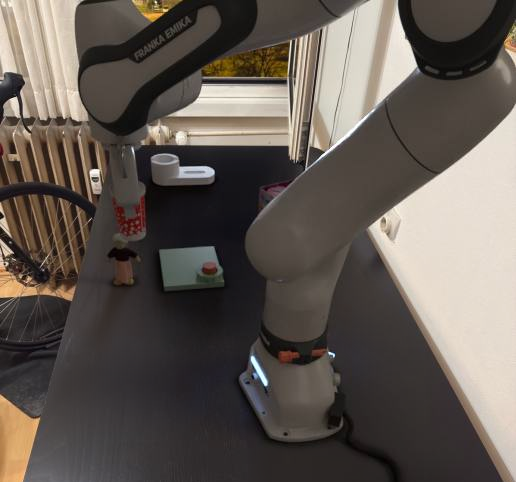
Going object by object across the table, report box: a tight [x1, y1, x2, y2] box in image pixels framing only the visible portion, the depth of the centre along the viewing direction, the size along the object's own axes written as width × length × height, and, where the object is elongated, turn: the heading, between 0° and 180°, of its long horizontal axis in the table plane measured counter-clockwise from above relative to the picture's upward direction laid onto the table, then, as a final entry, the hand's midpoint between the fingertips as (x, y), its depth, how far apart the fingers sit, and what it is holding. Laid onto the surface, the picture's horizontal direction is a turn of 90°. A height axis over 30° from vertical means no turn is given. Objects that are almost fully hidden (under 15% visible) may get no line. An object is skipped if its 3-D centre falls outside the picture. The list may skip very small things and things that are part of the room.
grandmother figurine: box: [105, 232, 142, 286], centre depth 108 cm, size 8×4×13 cm, turn 105°
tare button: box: [203, 261, 216, 275], centre depth 113 cm, size 3×3×2 cm
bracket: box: [150, 153, 216, 187], centre depth 153 cm, size 20×9×7 cm, turn 102°
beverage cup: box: [108, 180, 147, 242], centre depth 82 cm, size 6×6×14 cm
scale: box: [158, 245, 225, 292], centre depth 117 cm, size 16×14×3 cm
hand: (129, 206), depth 83 cm, fingers closed on beverage cup, 6 cm apart
